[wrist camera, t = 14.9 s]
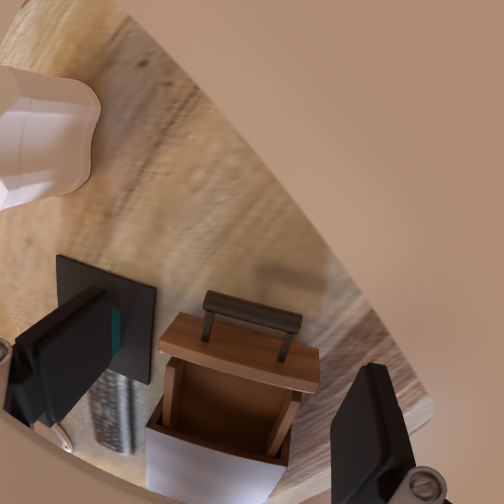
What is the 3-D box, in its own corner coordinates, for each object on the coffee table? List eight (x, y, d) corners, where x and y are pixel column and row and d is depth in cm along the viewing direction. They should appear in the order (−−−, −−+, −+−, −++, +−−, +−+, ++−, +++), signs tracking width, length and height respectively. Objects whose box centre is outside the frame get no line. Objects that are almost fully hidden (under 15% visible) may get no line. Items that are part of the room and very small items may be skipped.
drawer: (186, 266, 26) (163, 289, 21) (335, 305, 25) (340, 336, 20) (168, 416, 32) (153, 446, 27) (275, 446, 31) (270, 479, 26)
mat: (64, 345, 33) (62, 347, 32) (58, 254, 29) (55, 255, 28) (149, 383, 32) (148, 385, 31) (156, 288, 28) (154, 289, 28)
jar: (40, 81, 24) (-75, 69, 10) (108, 80, 23) (-26, 48, 9) (25, 186, 27) (-88, 216, 13) (87, 203, 27) (-44, 247, 12)
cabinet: (168, 385, 31) (144, 426, 25) (292, 419, 30) (288, 466, 24) (163, 458, 36) (147, 493, 30) (258, 485, 35) (251, 522, 29)
